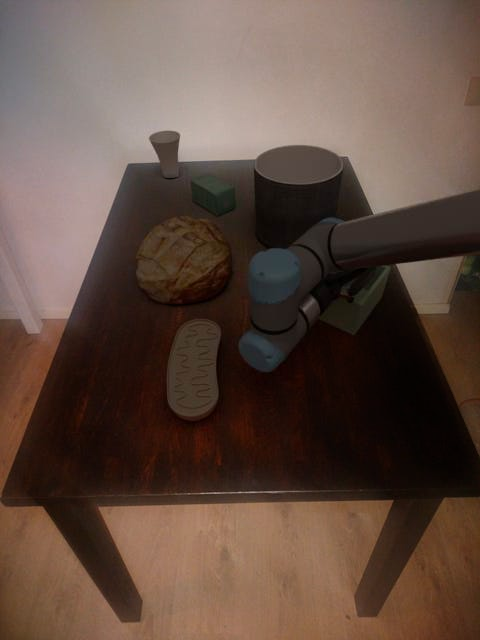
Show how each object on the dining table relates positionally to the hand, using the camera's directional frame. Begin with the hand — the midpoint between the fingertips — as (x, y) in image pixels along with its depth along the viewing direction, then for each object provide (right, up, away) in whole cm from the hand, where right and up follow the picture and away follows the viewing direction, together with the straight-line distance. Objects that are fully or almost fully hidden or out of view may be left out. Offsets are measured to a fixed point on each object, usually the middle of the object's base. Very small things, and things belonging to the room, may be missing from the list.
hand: (359, 242), depth 81 cm
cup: (-50, +36, +57) cm, 84 cm away
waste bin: (-2, -13, +7) cm, 15 cm away
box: (-34, +20, +41) cm, 56 cm away
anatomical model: (-34, -28, -5) cm, 44 cm away
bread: (-39, -5, +18) cm, 43 cm away
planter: (-10, +9, +28) cm, 31 cm away
